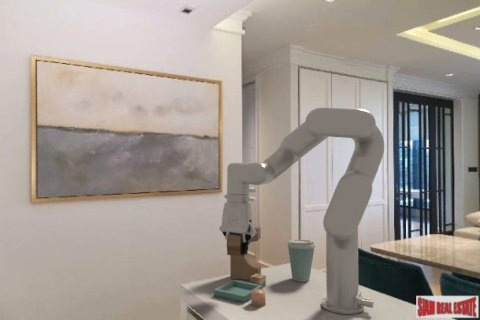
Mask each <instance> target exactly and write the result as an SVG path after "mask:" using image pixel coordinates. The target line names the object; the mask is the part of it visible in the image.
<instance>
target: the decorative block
mask: <svg viewBox="0 0 480 320" xmlns="http://www.w3.org/2000/svg"><path fill="white" fill-rule="evenodd" d="M253 227H254V228H255V230H256V231H257V234H256V235H254V236H253V237H252V238H251V239H250V241H248V246H250V244H251V243H252V242H257V241H259V240H260V239H261V235H262V234H261V232H262V231H261V229H262V228H261V226H260V225H253ZM250 233H251V232H248V234H250ZM229 256H230V263H229V265H230V273H229V274H230V279H232V280H238V281H251V276H252V275H254V274H261V275H262V267H261V265H260V264H259V263H255V262H254V261H253V260H251V258H250V256H249V255H248V253H247V254H246V255H244V256H241V257H237V256H231V255H229Z"/></svg>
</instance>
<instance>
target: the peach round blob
mask: <svg viewBox="0 0 480 320" xmlns="http://www.w3.org/2000/svg"><path fill="white" fill-rule="evenodd" d="M250 301H251V306H252V307H255V308H262V307H265V306H266V290H264V289H263V290H262V289H254V290H252V291H251V300H250Z"/></svg>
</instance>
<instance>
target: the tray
mask: <svg viewBox="0 0 480 320" xmlns="http://www.w3.org/2000/svg"><path fill="white" fill-rule="evenodd" d="M254 289H262V290H264V288H263V286H262V285H257V284H252V283H251V282H246V281H243V280H238V279H232V280H230V281H228V282H226V283H224V284H223V285H220V286H218V287H216V288H214V289H213V297H216V298H219V297H220V299H225V300H229V301H231V302H235V303H240V304H246V303H247V302H249V301H251V291H252V290H254Z"/></svg>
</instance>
